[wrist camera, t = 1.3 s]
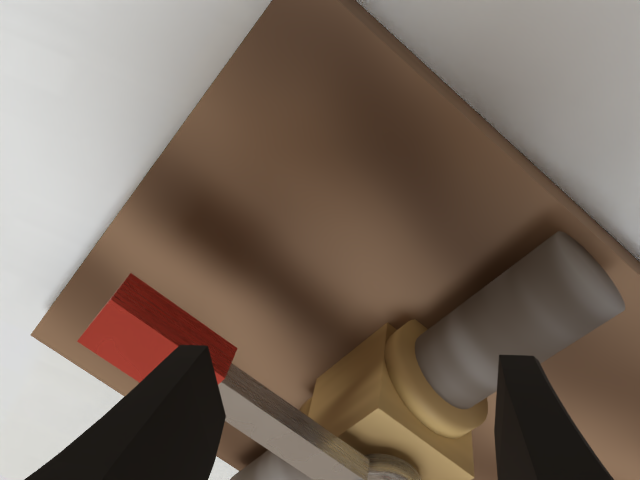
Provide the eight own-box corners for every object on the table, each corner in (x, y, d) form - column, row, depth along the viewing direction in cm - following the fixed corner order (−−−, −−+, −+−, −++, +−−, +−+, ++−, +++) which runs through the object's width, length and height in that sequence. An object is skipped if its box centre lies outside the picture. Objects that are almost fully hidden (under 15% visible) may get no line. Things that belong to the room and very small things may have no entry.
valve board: (308, -43, 17) (260, -11, 12) (794, 404, 22) (891, 547, 17) (50, 312, 25) (-35, 409, 21) (438, 570, 31) (439, 695, 26)
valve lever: (384, 513, 20) (382, 548, 19) (95, 317, 17) (73, 345, 16) (437, 483, 18) (437, 518, 17) (134, 268, 16) (114, 295, 15)
